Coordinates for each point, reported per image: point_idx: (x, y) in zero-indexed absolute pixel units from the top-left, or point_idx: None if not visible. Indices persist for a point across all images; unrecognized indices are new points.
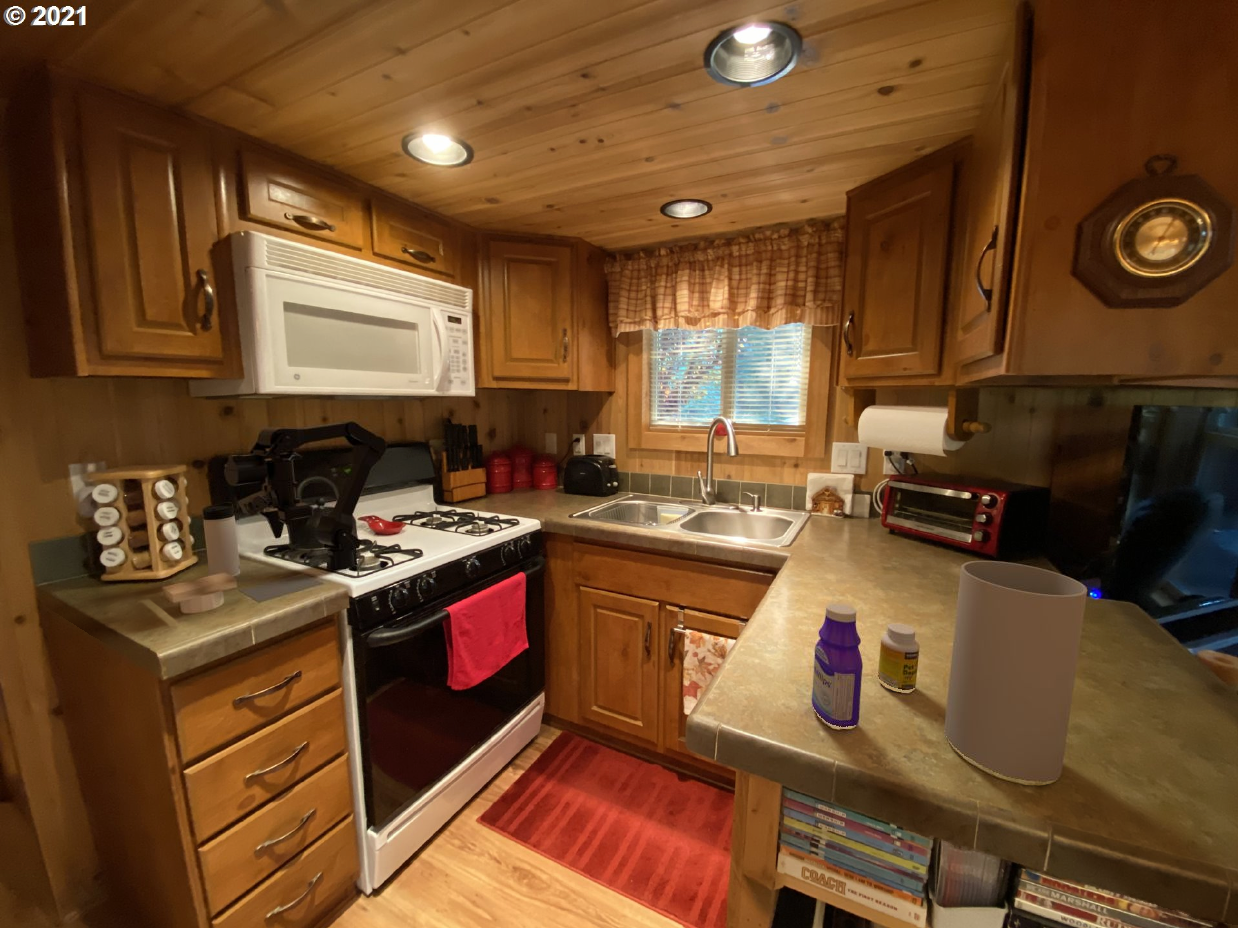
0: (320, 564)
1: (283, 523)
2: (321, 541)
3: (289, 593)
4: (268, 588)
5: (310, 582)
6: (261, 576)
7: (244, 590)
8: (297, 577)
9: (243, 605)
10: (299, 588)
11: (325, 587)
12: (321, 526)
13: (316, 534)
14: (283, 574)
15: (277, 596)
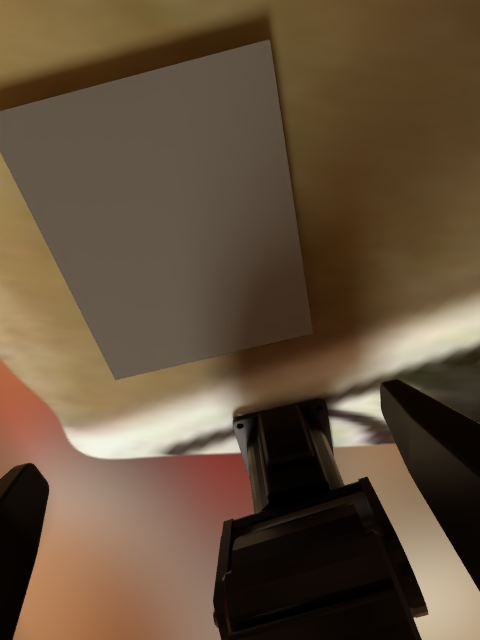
0: None
1: (473, 580)
2: (330, 516)
3: (56, 256)
4: (196, 185)
5: (163, 342)
6: (476, 183)
7: (248, 68)
8: (273, 311)
9: (60, 40)
10: (105, 298)
11: None
12: (357, 634)
13: (371, 547)
14: (415, 268)
15: (38, 205)
